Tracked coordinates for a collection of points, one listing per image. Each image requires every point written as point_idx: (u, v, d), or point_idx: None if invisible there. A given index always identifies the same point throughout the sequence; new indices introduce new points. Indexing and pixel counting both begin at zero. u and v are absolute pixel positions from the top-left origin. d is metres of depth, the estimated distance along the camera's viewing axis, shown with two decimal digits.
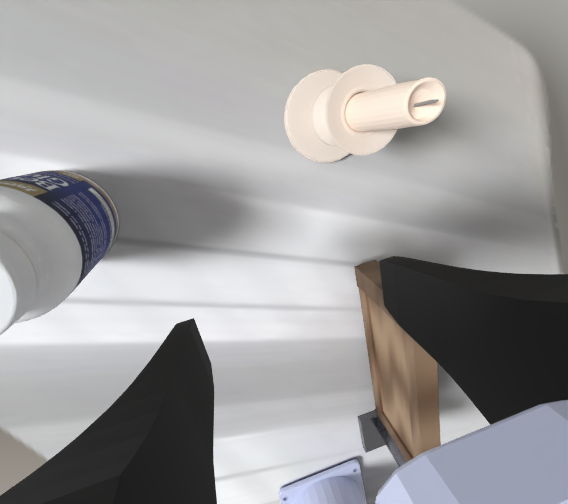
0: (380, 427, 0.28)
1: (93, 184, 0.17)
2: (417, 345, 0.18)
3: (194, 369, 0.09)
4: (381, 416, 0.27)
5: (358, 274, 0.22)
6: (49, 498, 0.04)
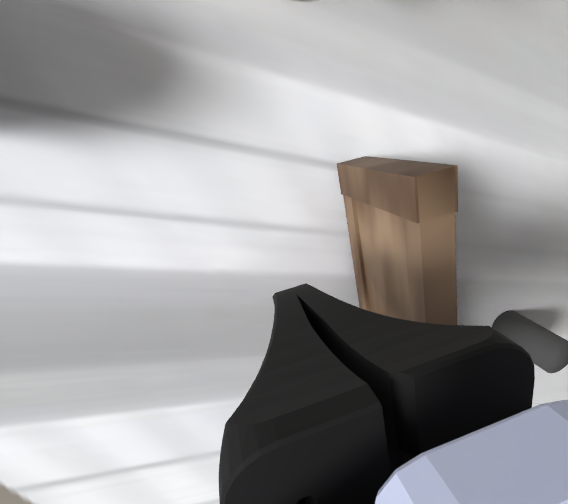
0: None
1: None
2: (426, 238, 0.11)
3: None
4: None
5: (342, 172, 0.16)
6: (307, 404, 0.05)
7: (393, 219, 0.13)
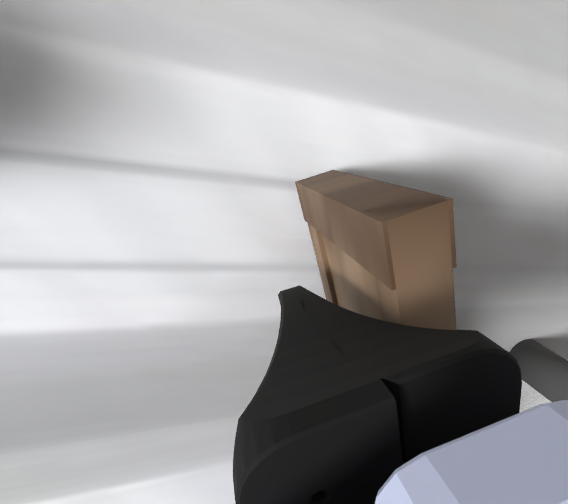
0: None
1: None
2: (409, 310, 0.07)
3: None
4: None
5: (301, 194, 0.12)
6: (320, 399, 0.05)
7: (364, 268, 0.09)
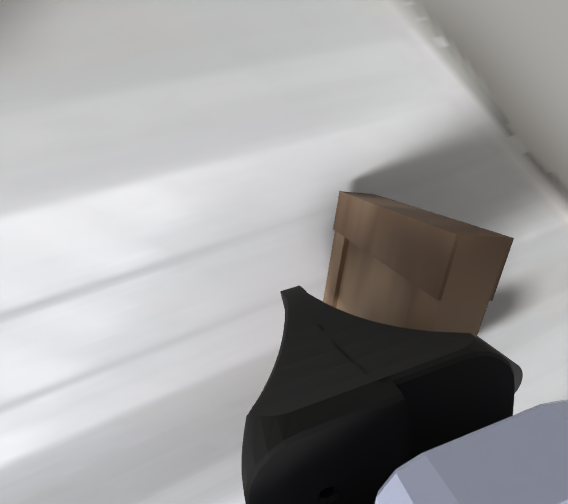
0: None
1: None
2: (442, 325, 0.08)
3: None
4: None
5: (342, 203, 0.13)
6: (328, 396, 0.05)
7: (396, 282, 0.10)
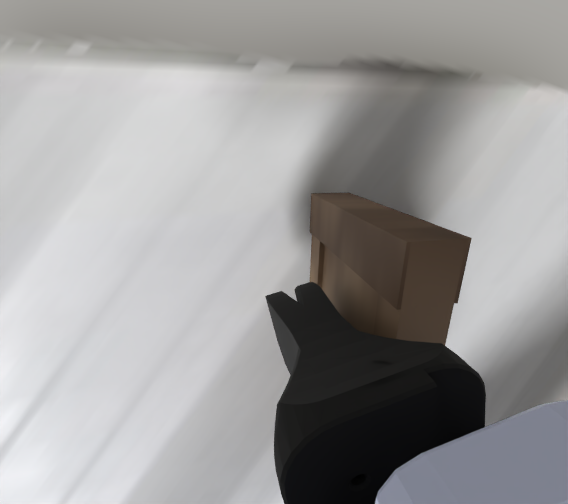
0: None
1: None
2: (406, 333, 0.08)
3: None
4: None
5: (315, 206, 0.12)
6: (360, 384, 0.05)
7: (365, 287, 0.09)
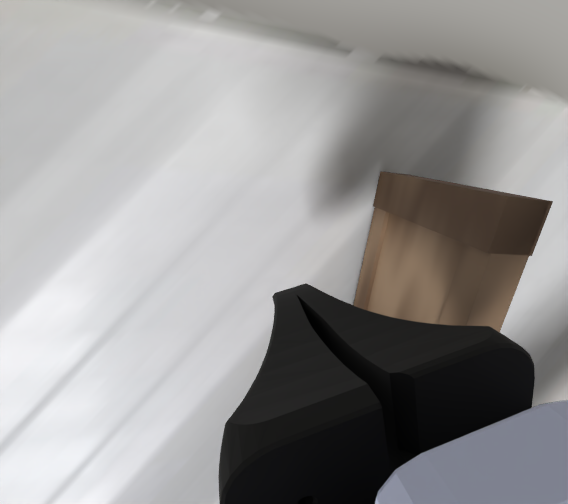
0: None
1: None
2: (489, 275, 0.09)
3: None
4: None
5: (384, 182, 0.14)
6: (306, 404, 0.05)
7: (442, 245, 0.11)
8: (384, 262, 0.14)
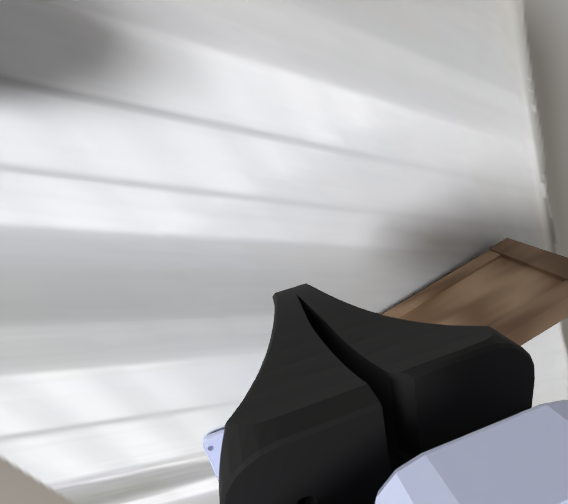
0: None
1: None
2: None
3: None
4: None
5: (508, 242, 0.24)
6: (307, 403, 0.05)
7: (543, 278, 0.20)
8: (480, 274, 0.23)
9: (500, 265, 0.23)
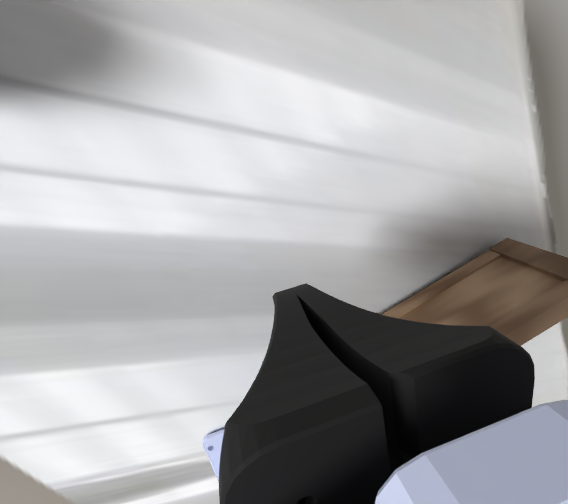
0: None
1: None
2: None
3: None
4: None
5: (508, 242, 0.24)
6: (307, 403, 0.05)
7: (543, 278, 0.20)
8: (480, 274, 0.23)
9: (500, 265, 0.23)
